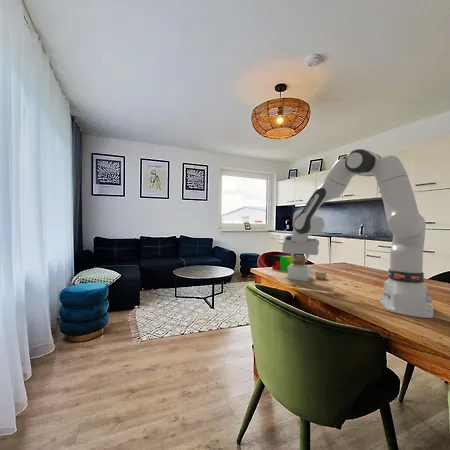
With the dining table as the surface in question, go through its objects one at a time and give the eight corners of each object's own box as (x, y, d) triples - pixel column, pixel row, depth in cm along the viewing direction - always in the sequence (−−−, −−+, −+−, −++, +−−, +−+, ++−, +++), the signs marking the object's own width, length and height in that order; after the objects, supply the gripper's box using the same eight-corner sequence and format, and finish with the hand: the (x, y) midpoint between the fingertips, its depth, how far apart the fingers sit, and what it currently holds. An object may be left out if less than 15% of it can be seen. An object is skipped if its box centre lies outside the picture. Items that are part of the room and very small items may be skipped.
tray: (309, 283, 137) (309, 282, 137) (283, 280, 144) (283, 278, 144) (313, 278, 149) (313, 277, 149) (290, 276, 156) (290, 274, 156)
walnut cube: (303, 265, 143) (303, 256, 143) (294, 264, 145) (294, 255, 145) (304, 264, 147) (305, 255, 147) (296, 263, 150) (296, 255, 150)
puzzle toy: (281, 268, 182) (281, 254, 182) (292, 270, 174) (293, 256, 174) (272, 269, 176) (272, 255, 175) (284, 272, 168) (284, 257, 168)
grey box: (306, 281, 139) (307, 268, 139) (287, 278, 144) (287, 266, 144) (310, 277, 148) (310, 265, 148) (292, 275, 154) (292, 263, 154)
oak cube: (324, 281, 143) (324, 273, 143) (315, 280, 145) (315, 272, 145) (325, 280, 147) (326, 271, 147) (316, 279, 150) (317, 270, 150)
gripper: (319, 238, 144) (319, 262, 144) (284, 236, 154) (284, 259, 154) (318, 239, 138) (317, 264, 138) (281, 237, 148) (281, 260, 148)
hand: (299, 261), depth 146 cm, fingers closed on walnut cube, 5 cm apart
